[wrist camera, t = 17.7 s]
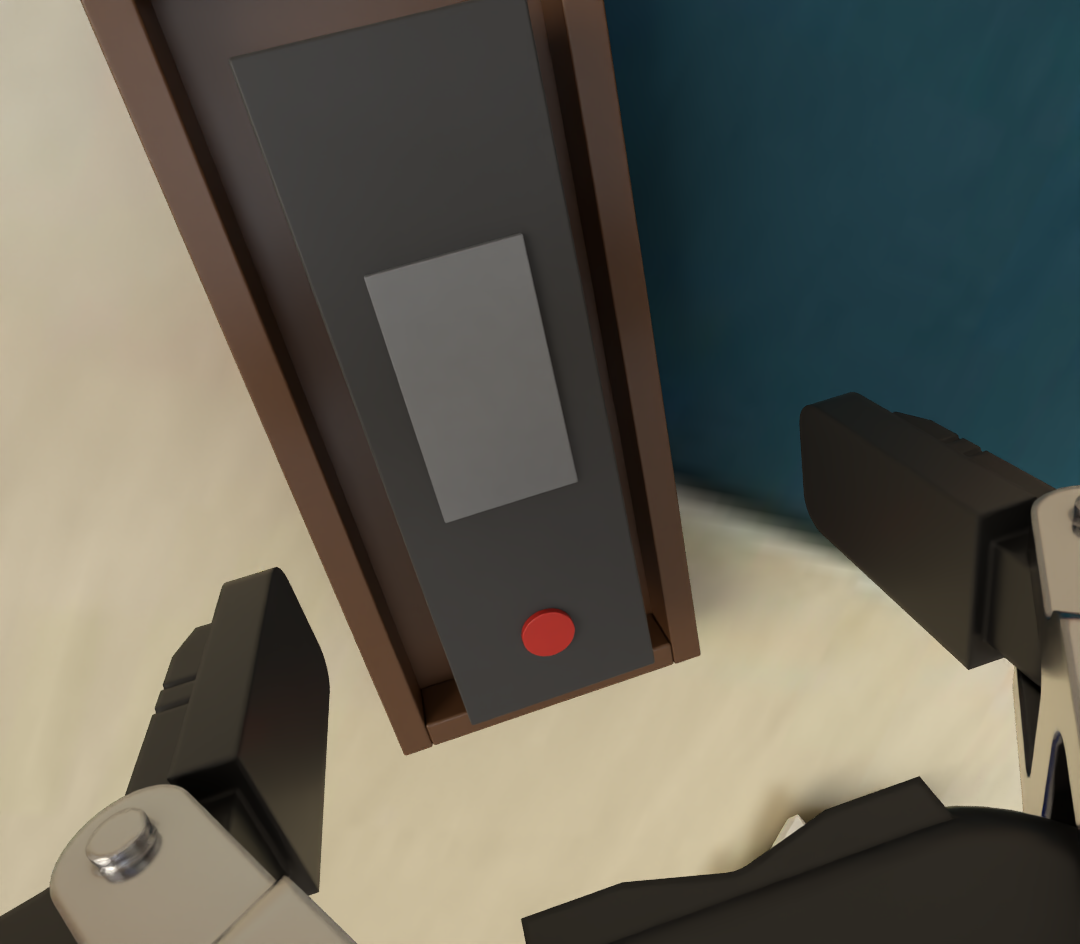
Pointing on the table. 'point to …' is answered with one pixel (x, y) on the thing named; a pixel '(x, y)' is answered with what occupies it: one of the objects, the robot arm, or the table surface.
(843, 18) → the table surface
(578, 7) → the tray
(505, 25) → the remote
